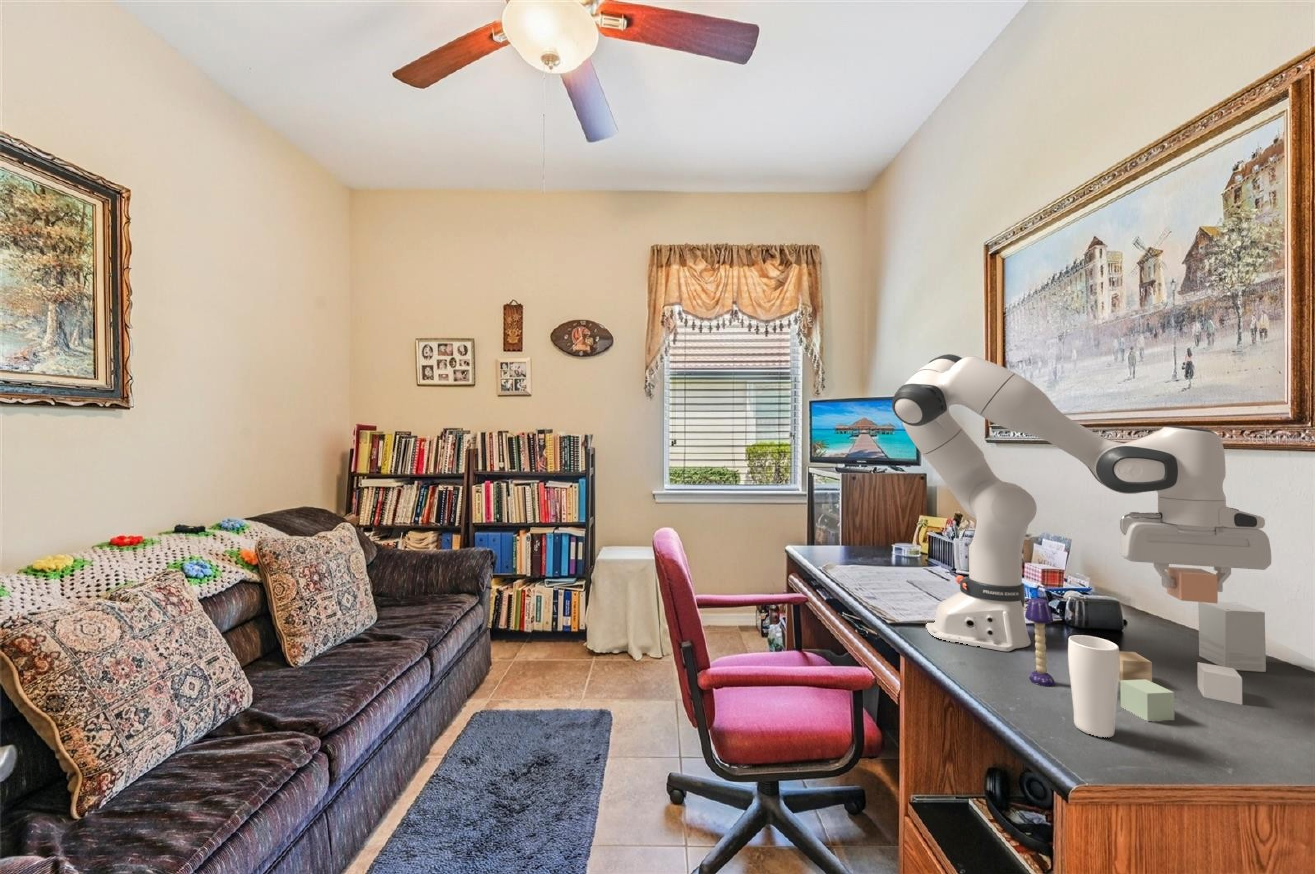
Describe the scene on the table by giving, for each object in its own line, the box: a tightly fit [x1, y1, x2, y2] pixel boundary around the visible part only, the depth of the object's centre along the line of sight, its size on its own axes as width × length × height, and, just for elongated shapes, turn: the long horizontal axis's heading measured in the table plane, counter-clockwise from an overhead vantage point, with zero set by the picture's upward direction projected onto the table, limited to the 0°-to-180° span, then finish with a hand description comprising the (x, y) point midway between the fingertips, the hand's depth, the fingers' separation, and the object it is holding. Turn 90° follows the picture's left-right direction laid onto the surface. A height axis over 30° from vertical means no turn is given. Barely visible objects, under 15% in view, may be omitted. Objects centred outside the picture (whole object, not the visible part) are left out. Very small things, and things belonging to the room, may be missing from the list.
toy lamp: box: [1024, 597, 1056, 687], centre depth 107 cm, size 5×5×17 cm
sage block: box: [1119, 679, 1175, 722], centre depth 95 cm, size 5×5×5 cm
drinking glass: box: [1067, 634, 1120, 739], centre depth 90 cm, size 7×7×15 cm
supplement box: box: [1197, 601, 1267, 673], centre depth 115 cm, size 7×7×13 cm
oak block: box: [1119, 650, 1153, 683], centre depth 108 cm, size 5×5×5 cm
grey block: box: [1196, 662, 1243, 706], centre depth 101 cm, size 5×5×5 cm
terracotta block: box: [1165, 566, 1219, 603], centre depth 97 cm, size 5×5×5 cm
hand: (1191, 589), depth 97 cm, fingers closed on terracotta block, 5 cm apart
